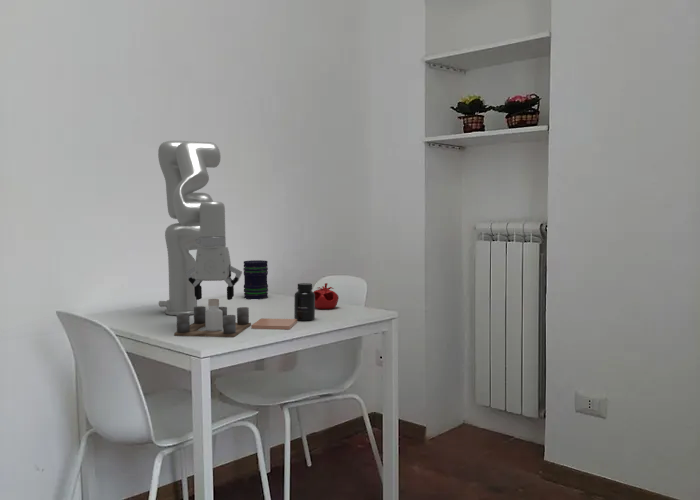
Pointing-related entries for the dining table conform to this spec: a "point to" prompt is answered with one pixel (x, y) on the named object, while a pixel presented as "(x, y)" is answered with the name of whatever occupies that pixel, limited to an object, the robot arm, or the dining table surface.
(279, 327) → the terracotta tile
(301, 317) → the supplement bottle
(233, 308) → the dining table surface
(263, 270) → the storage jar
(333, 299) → the pomegranate
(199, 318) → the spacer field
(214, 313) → the pepper shaker
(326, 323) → the dining table surface
